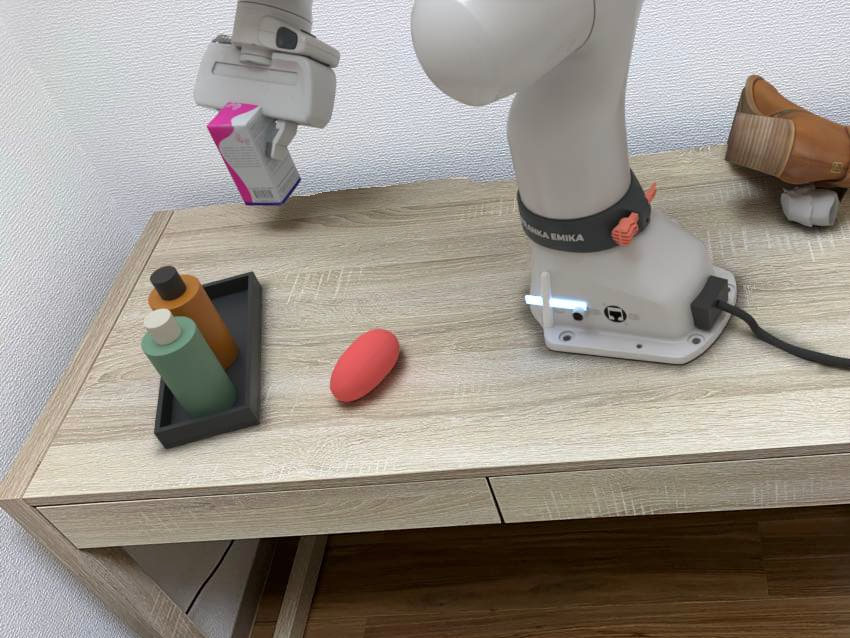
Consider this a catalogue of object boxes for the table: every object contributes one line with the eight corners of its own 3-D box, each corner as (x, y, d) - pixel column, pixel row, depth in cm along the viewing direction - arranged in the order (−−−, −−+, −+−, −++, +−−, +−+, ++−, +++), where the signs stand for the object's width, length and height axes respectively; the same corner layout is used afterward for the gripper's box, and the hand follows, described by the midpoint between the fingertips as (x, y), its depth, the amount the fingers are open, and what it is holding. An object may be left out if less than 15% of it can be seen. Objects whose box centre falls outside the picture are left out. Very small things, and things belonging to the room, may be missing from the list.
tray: (180, 308, 111) (170, 292, 109) (261, 286, 111) (253, 270, 109) (165, 449, 95) (153, 433, 93) (259, 423, 95) (249, 407, 93)
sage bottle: (247, 390, 98) (196, 305, 89) (212, 427, 95) (155, 344, 86) (211, 377, 101) (157, 293, 92) (176, 413, 98) (117, 330, 89)
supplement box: (303, 178, 118) (267, 98, 109) (283, 207, 114) (245, 126, 106) (264, 178, 119) (227, 99, 111) (244, 206, 116) (203, 127, 107)
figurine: (847, 220, 101) (817, 240, 99) (791, 196, 106) (761, 215, 104) (849, 190, 98) (818, 210, 96) (791, 167, 103) (761, 186, 101)
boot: (729, 130, 119) (873, 164, 116) (713, 197, 99) (887, 239, 97) (748, 60, 113) (900, 94, 111) (736, 115, 94) (920, 158, 92)
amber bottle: (248, 347, 103) (200, 262, 94) (215, 381, 100) (162, 297, 91) (214, 335, 105) (163, 252, 96) (180, 368, 103) (125, 286, 93)
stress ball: (424, 378, 97) (408, 322, 95) (353, 408, 91) (336, 348, 90) (397, 377, 101) (381, 322, 99) (327, 405, 95) (310, 347, 94)
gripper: (190, 24, 112) (173, 138, 114) (315, 38, 103) (293, 161, 105) (230, 41, 117) (213, 149, 119) (351, 55, 108) (330, 171, 110)
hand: (251, 155), depth 112 cm, fingers closed on supplement box, 6 cm apart
